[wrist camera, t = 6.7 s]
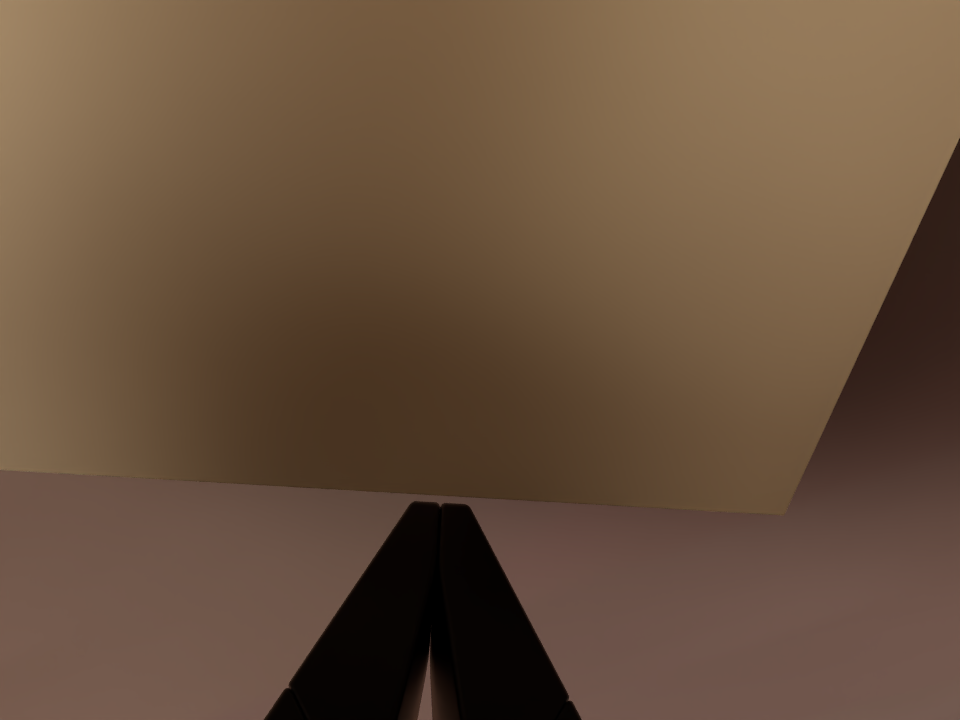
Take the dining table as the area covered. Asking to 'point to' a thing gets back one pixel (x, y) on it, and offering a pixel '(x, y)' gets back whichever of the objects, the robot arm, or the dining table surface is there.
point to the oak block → (457, 238)
